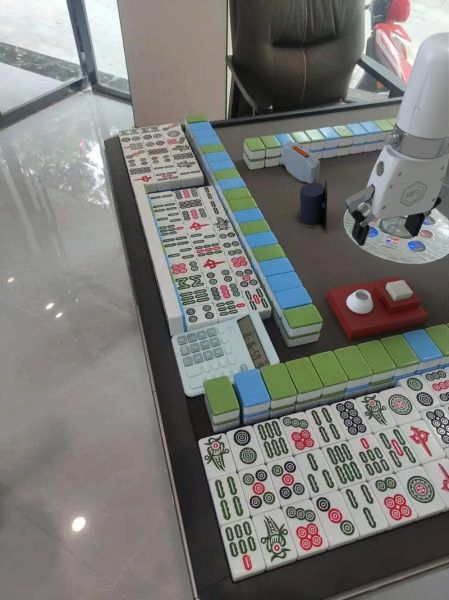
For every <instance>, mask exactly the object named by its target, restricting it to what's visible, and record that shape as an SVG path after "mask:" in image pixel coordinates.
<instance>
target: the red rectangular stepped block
mask: <svg viewBox="0 0 449 600" xmlns="http://www.w3.org/2000/svg"><path fill="white" fill-rule="evenodd" d="M400 280H404V281H405V282H406V284H407V285H408V286H409V288H410V289H411V290H412V292H413V294H412V296H411V298H410V299H405V300H400V301H395V302H394V301H393V300H392V298H391V297H390V295H389V294H388V293H387V291H386V290H385V288H386V285H387V283H390V282H395V281H400ZM357 290H365V291H367V292H369V293H370V295H371V298H372V302H373V307H372V310H371V311H370V312H368V313H365V314H360V313H356V312H353V311H352V310H351V309H349V307H348V306H347V302H346V301H347V298H348V296H350V295H351V294H353V293H354V292H356V291H357ZM326 300H327V302H328V304H329V305H330V307H331V309H332V311H333V313H334V314H335V316H336V318H337V320H338V322H339V324H340V325H341V327H342V329H343V330H344V332H345V334H346V336H347V338H348V340H353V339H358V338H361V337H367V336H372V335H377V334H381V333H385V332H391V331H396V330H399V329H405V328H409V327H413V326H414V327H415V326H419V325H423V324H424V323H425V321H426V320H427V318H428V316H429V315H428V313H427V311H426V310H425V309H424V308H423V306H422V305H421V304H422V300H421V298H420V297H419V296H418V294H417V293H416V292H415V291H414V289H413V287H411V285H410V283H409V282H408V281H407V280H406V278H401V277H400V276H399V275H398V276H394V277H388V278H383V279H378V280H377V279H376V280H373V281H367V282H362V283H356V284H351V285H346V286H340V287H335V288H330V289H328V291H327V295H326Z"/></svg>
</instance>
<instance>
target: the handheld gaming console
mask: <svg viewBox="0 0 449 600" xmlns="http://www.w3.org/2000/svg"><path fill="white" fill-rule="evenodd" d="M282 146H283V147H282V153H281V157H280V160H281V163H282V164H283V166H284V167H285V169H286V171H287V172H288V174H290V175H291V176H292V177H294V178H295V179H297V180H298V181H300V182H303V183H307V184H308V183H317V182H318V181H319V180H320V173H321V161H320V160H319V159H318V158H317V156H316V155H315V154H314V153H313V152H312V151H310V150H309V149H308V148H306V147H305V146H303V145H302V144H300V143H299V142H293V141H292V140H288V141H286V142H285V144H283V145H282Z"/></svg>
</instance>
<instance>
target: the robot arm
mask: <svg viewBox="0 0 449 600" xmlns="http://www.w3.org/2000/svg"><path fill="white" fill-rule="evenodd" d="M383 143H384V146H383V148H382V150H381V151H380V153H379V155H378V157H377V159H376V162H375V164H374V165H373V169H372V171H371V173H370V176H369V179H368V182H367V184H366V188H364V189H362V190H360V191H358V192H356V193H354V194H352V195H350V196H349V197H347V198H346V199H345V205H346V208H347V212H348V213H349V215H350V216H351V217H352V218H353V220H354V223H353V227H352V230H351V237H352V238H353V240H355V242H356V244H357V245H358V246H359V247H363V246H364V245H365V244H366V241H367V238H368V235H369V233H370V228H371V227H370V226H371V225H369V224H370V223H371V222H372V221H374V219H379V220H387V219H392V218H400V217H406V216H407V217H406V218H405V219H406V220H405V222H404V224H403V226H404V228H405V230H406V231H407V232H408V233H409V235H410V236H411V237H413V238H415V237H418V235H419V233H420V231H421V229H422V227H423V225H424V223H425V220H426V217H427V218H428V217H429V216H431V215H432V211H433V210H434V209H435V208H436V207H438V206H439V205H441V203H442V200H443V199H445V197H446V196H447V195H448V194H449V184H447V183H446V182H444V180H445V177H446V173H447V170H448V167H449V32H447V31H446V32H438V33H433V34H430V35H429V36H426V38H424V40H423V41H422V42H421V44H420V45H419V47H418V50H417V52H416V54H415V58H414V61H413V65H412V68H411V71H410V74H409V77H408V80H407V84H406V87H405V90H404V93H403V96H402V100H401V103H400V106H399V109H398V112H397V116H396V119H395V122H394V125H393V128H392V132H391V133H388V134H386V135H384V137H383ZM368 211H369V212H368ZM366 212H368V213H367V214H366ZM364 214H366V215H364Z"/></svg>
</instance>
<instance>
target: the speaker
mask: <svg viewBox="0 0 449 600" xmlns="http://www.w3.org/2000/svg"><path fill="white" fill-rule="evenodd" d="M299 199H300V200H299V201H300V203H299V205H300V220H301V221H302V222H303V223H304V224H310V225H315V224H319V223H320V222H322V221H323V229H324V230H327V217H328V216H327V215H328V214H327V213H328V181H327V180H324V185H323V184H321V183H318V182H313V183H308V182H307V183H306V184H304V185H302V186H301V188H300V189H299Z"/></svg>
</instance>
